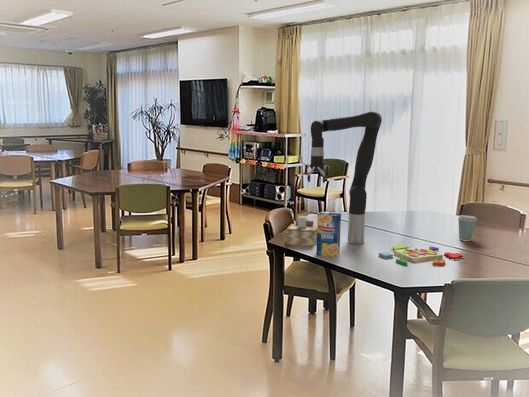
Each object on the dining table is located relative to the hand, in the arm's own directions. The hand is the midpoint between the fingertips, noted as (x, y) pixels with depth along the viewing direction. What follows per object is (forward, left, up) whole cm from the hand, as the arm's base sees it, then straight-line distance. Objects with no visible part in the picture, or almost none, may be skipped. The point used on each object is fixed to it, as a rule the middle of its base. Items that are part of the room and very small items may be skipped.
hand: (316, 182), depth 294 cm
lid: (+4, +16, -25) cm, 30 cm away
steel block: (+4, +17, -24) cm, 30 cm away
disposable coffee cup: (-87, -22, -33) cm, 96 cm away
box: (+4, +16, -33) cm, 37 cm away
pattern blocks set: (-60, +23, -34) cm, 73 cm away
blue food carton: (-14, +35, -33) cm, 50 cm away
